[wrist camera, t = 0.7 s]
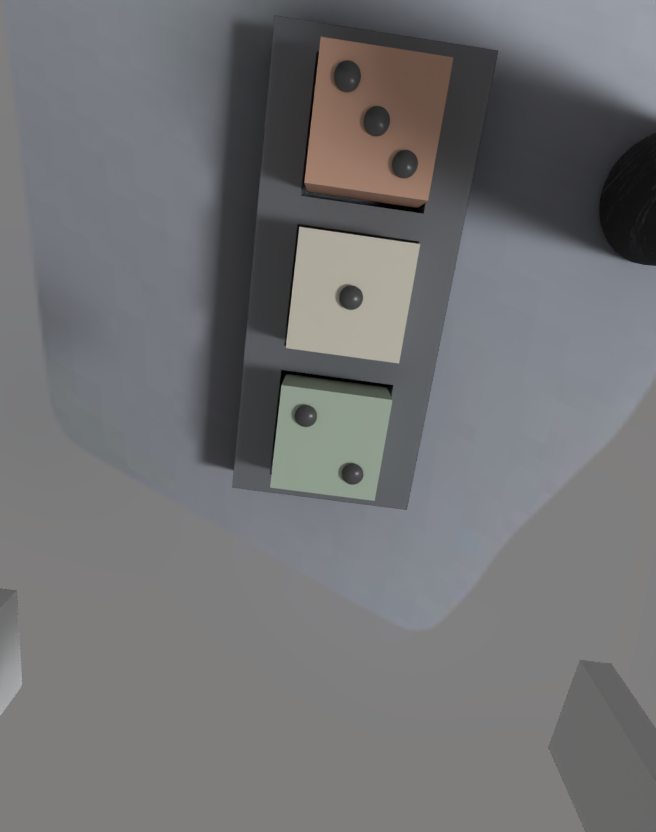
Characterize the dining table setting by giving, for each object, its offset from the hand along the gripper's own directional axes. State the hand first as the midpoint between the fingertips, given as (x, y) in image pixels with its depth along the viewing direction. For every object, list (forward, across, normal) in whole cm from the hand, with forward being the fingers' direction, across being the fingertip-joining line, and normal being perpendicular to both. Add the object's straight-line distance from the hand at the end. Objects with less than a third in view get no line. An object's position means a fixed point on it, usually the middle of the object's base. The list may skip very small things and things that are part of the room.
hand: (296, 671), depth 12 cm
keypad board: (+22, +1, +8) cm, 23 cm away
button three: (+20, +1, +16) cm, 25 cm away
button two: (+19, +1, 0) cm, 20 cm away
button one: (+20, +1, +8) cm, 21 cm away
